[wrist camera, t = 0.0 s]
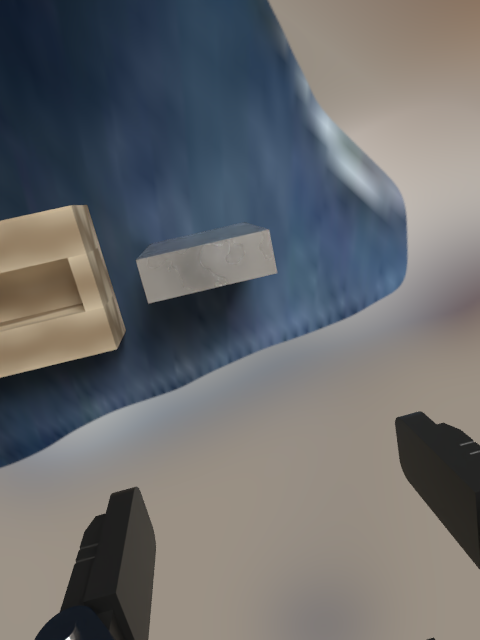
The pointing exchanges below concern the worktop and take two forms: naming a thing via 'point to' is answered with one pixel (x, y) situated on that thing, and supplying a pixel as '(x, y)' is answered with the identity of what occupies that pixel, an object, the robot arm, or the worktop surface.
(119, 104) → the worktop surface
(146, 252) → the grey stone slab
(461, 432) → the robot arm
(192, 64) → the worktop surface
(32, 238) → the wooden l-shaped stand
